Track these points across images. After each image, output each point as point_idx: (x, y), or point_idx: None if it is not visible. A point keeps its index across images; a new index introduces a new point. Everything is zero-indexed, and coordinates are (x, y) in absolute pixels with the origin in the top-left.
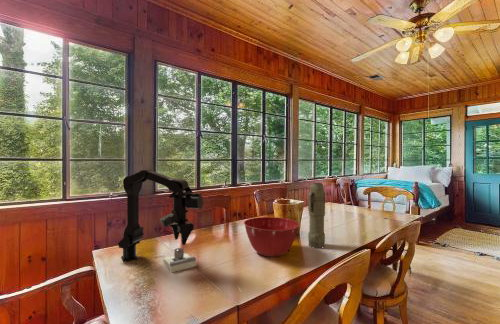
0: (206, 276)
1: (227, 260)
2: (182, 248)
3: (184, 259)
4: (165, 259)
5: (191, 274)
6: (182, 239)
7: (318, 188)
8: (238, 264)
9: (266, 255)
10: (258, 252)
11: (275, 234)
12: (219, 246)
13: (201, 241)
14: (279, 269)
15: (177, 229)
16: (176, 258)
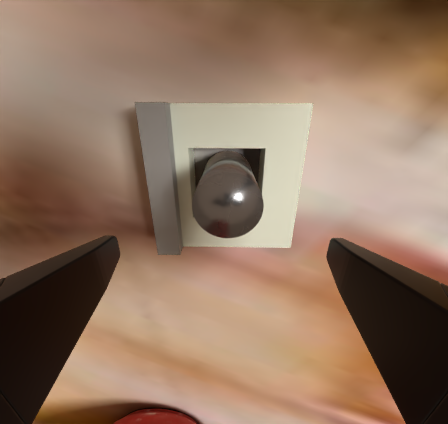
0: (47, 226)
1: (163, 334)
2: (235, 235)
3: (166, 199)
4: (281, 108)
5: (89, 183)
6: (25, 272)
7: None
8: (113, 343)
9: (133, 413)
10: (149, 414)
11: None
12: (309, 367)
13: None
14: None
15: (419, 376)
16: (209, 165)
